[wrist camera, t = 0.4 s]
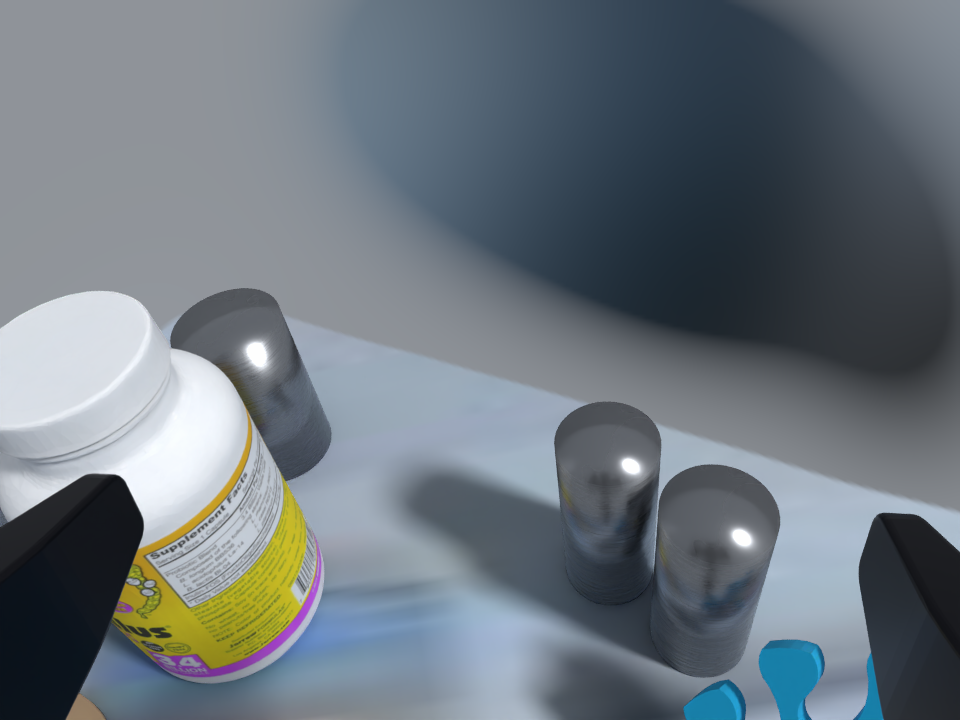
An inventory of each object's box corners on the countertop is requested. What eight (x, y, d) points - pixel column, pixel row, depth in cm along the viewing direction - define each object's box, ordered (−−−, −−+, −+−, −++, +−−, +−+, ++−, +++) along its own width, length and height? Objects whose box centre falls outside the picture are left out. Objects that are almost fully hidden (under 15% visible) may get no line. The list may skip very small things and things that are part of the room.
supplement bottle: (117, 606, 28) (-125, 368, 19) (264, 490, 31) (117, 234, 22) (209, 736, 24) (-38, 517, 15) (367, 590, 27) (240, 332, 18)
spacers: (748, 684, 23) (784, 571, 18) (68, 587, 29) (-46, 481, 24) (737, 439, 29) (762, 305, 25) (182, 399, 35) (111, 283, 30)
